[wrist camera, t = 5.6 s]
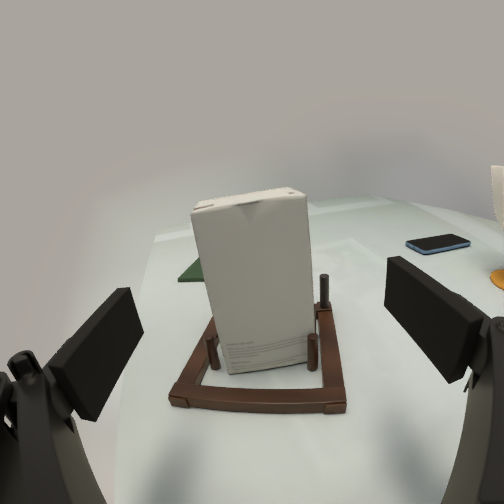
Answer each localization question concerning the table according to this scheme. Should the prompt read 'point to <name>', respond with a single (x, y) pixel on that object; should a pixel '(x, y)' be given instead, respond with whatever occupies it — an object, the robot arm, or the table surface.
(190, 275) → the mat
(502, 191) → the cup
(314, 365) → the rack
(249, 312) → the cosmetic box
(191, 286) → the table surface
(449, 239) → the smartphone
